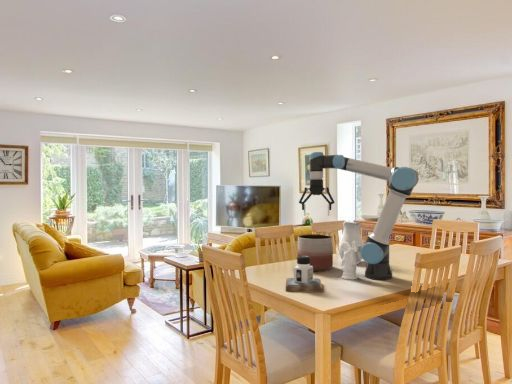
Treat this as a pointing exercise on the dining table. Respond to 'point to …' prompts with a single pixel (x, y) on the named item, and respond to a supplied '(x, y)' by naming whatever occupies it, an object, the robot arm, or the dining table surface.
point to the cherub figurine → (349, 259)
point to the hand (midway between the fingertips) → (316, 215)
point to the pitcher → (351, 236)
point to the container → (303, 270)
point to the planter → (317, 250)
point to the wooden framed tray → (304, 285)
